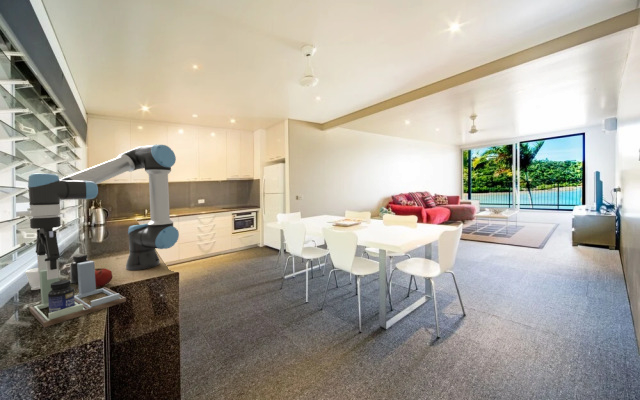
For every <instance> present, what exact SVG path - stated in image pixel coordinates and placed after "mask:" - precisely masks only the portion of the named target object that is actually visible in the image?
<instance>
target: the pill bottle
mask: <svg viewBox="0 0 640 400" xmlns="http://www.w3.org/2000/svg"><path fill="white" fill-rule="evenodd" d="M70 285H72V283H71V279H63V280H60V281H57V282H54V283H51V288H52V290H51V291H50V292H49V293H48V302H49V307H48V313H51V312H55V311H58V310H62V309H65V308H68V307H72V306H75V301H74V296H75V289H74V287H72V286H70Z"/></svg>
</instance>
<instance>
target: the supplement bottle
mask: <svg viewBox="0 0 640 400" xmlns="http://www.w3.org/2000/svg"><path fill="white" fill-rule="evenodd" d="M88 261H90V260H89V259H88V254H86V253H84V254H83V253H82V254H76V255H73V256H72V262H71V263H70V264H69V269H70V270H69V271H70V273H69V274H70V282H71V284H78V268H77V263H82V262H88Z"/></svg>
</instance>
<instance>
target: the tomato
mask: <svg viewBox="0 0 640 400" xmlns="http://www.w3.org/2000/svg"><path fill="white" fill-rule="evenodd" d="M112 279H113V273H112V271H111V270H110V269H108V268H105V267H101V268H100V267H99V268H95V282H96V288H100V287H102V288H103V287H105V286H106V285H108V284H109V283H110V282H112Z"/></svg>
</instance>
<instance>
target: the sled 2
mask: <svg viewBox="0 0 640 400" xmlns="http://www.w3.org/2000/svg"><path fill="white" fill-rule="evenodd" d="M77 268H78V283H77V284H78V294H76V295H75V294H74V298H76V299H77V300H78V301H80V302H81V303H83V304H84V305H86V306H87V307H89V308H91V307H94V306H97V305H100V304H104V303H107V302H110V301H114V300H117V299H120V295H121V294H120V293H117V292H116V293H117V294H113V293H111V292H109V291H107V290H105V289H103V287H102V288H98V289H97V287H96V282H95V269H96V267H95V261H93V260H89V261H88V262H82V263H77ZM100 293H103V294H105V295H107V296H103V297H100V298H97V299H93V300H90V304H88V303H87V302H85V301H84V300H82V298H85V297H89V296H92V295H96V294H100ZM119 294H120V295H119Z"/></svg>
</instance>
